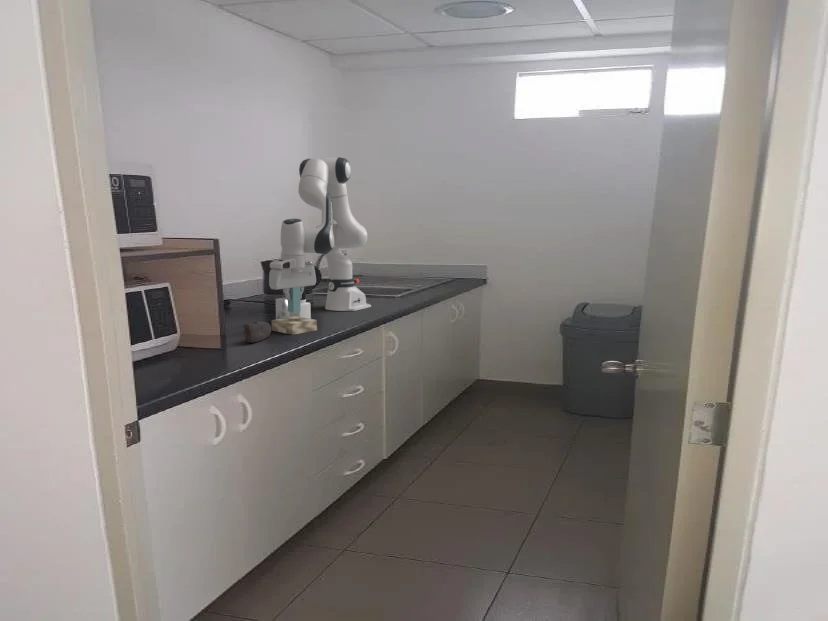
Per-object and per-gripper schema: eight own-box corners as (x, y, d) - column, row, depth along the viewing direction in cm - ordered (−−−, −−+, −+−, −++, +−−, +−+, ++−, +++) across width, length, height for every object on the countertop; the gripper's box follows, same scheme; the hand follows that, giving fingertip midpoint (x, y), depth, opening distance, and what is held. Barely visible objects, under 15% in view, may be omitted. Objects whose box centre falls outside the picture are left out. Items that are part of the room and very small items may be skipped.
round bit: (284, 322, 258) (283, 297, 256) (292, 323, 254) (292, 299, 253) (273, 323, 254) (272, 299, 252) (282, 325, 250) (281, 300, 249)
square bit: (294, 310, 242) (294, 284, 240) (300, 311, 240) (300, 285, 238) (287, 311, 239) (287, 285, 238) (293, 312, 237) (293, 285, 236)
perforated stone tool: (264, 336, 230) (264, 317, 229) (277, 337, 228) (276, 318, 227) (238, 344, 216) (238, 324, 215) (251, 345, 214) (251, 325, 213)
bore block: (296, 326, 249) (296, 316, 248) (316, 330, 242) (316, 319, 241) (271, 330, 240) (271, 320, 239) (292, 334, 232) (292, 324, 232)
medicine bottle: (311, 319, 264) (310, 291, 262) (299, 322, 258) (299, 293, 256) (298, 317, 268) (297, 289, 266) (286, 320, 262) (285, 291, 260)
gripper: (308, 260, 247) (309, 295, 249) (266, 263, 231) (266, 301, 233) (319, 261, 243) (319, 297, 245) (277, 264, 227) (277, 303, 229)
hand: (293, 299), depth 239 cm, fingers closed on square bit, 3 cm apart
